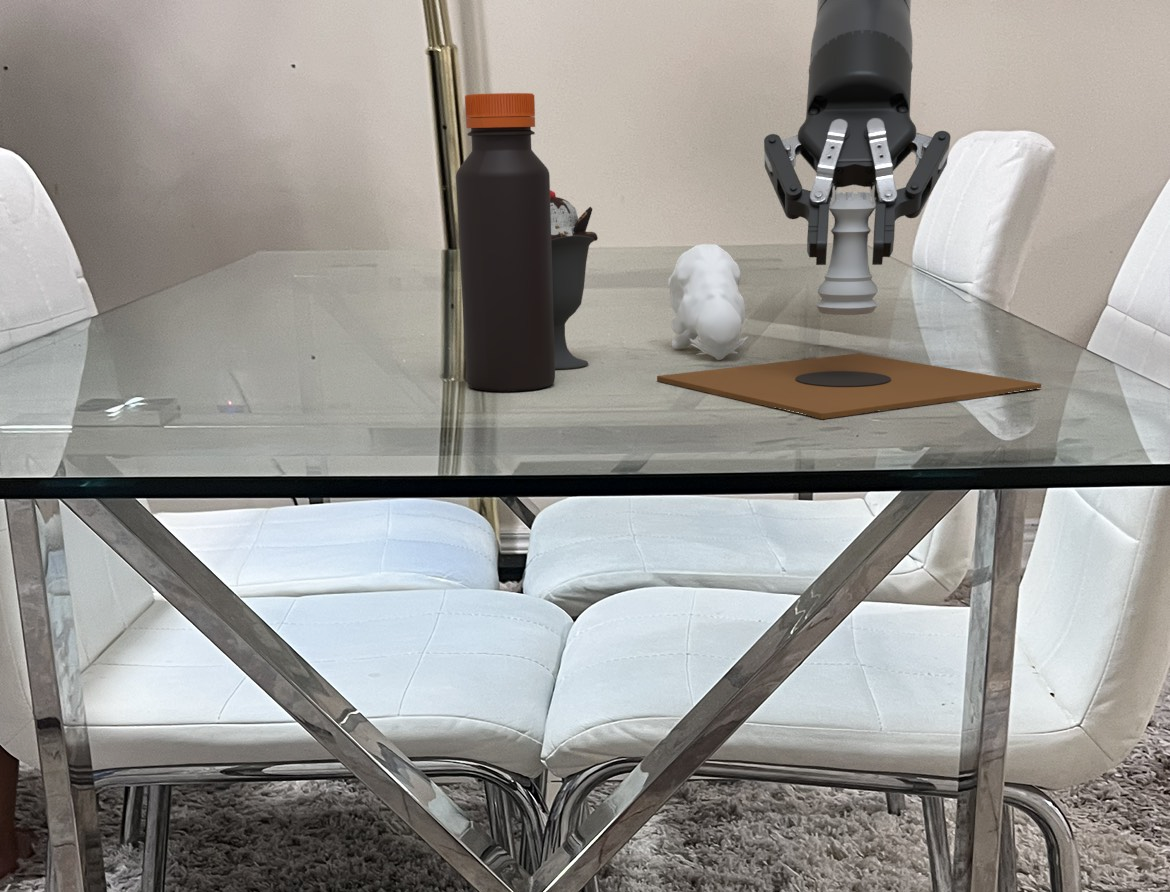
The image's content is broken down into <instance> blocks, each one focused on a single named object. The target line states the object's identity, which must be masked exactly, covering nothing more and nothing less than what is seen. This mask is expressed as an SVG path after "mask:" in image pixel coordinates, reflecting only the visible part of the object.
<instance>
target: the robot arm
mask: <svg viewBox="0 0 1170 892" xmlns="http://www.w3.org/2000/svg"><path fill="white" fill-rule="evenodd" d="M911 7H912V0H817V7H816V18H815V19H816V21H815V25H814V26H815V27H814V31H813V35H812V38H811V39H812V40H811V43H810V44H811V45H810V56H809V67H808V84H807V85H808V86H807V97H806V113H805V120H804V122H803V123H802V124H801V125H800V127H799V129H798V131H797V134H796V135H793V136H791V137H788V138H784V139H782V138H781V136H780V135H778V134H776V133H770V134H768V135H766V136H765V137H764V139H763V149H764V150H763V157H764V159H763V160H764V169H765V171H766V173H767V176H768V178H769V181H770V183H771V185H772V187H773V190H774V192H775V194H776V196H777V199H778V201H779V203H780V206H781V207H782V211H783V212H784V214H785V217H786V218H787V219H790V220H797V219H799V218H803V219H805V220H806V221H807V237H806V239H807V240H806V252H807V255H808V257H809V258H816V259H815V265H816V266H826V265H827V254H828V237H829V217H830V210H829V207H830V206H831V204H832V203H833V202H834V200H835V193H838V189H839V188H845V187H850V186H857V187H858V186H859V187H863V188H868V189H869V192H870V193H871V201H872V202H873V204H874V206H875V207H876V208H875V209H874V221H873V222H874V223H873V241H872V261H871V262H872V263H871V264H872V266H883V261H884V260H883V258H890V257H891V256H892V254H893V252H894V243H895V231H896V226H895V225H896V221H897V220H898V219H899V218H901V217H906V218H907V219H916V218H917V217H919V215H920V214H921V213H922V210H923V209H924V207H925V205H926V203H927V201H928V199H929V198H930V196H931V194H932V192H933V191H934V189H935V186H936V185H937V183H938V181H939V179H940V178H941V176H942V174H943V172H944V170H945V169H946V167H947V165H948V159H949V153H950V147H951V146H950V143H951V137H952V136H951V134H950V133H949V132H948V131H946V130H938V131H937V132H935V133H934V134H933V136H929V135H927V134H923V133H920V132H917V127H916V124H915V123H914V122H913V120H912V118H911V97H912V96H911V93H912V72H913V47H914V46H913V45H914V44H913V32H912V31H913V30H912V25H911V24H912V23H911V11H912V9H911ZM911 153H913V154H914V155H915V159H914V160H915V161H914V162H915V165H916V166H915V169H914V170H913V172H912V174H911V175H910V178H909V179H908V181H907V183H906V185H905V187H902V188H898V189H897V187H896V181H895V178H894V171H895V170H896V169H897V168H898V167H899V166H900V165H901V164H902V163H903V162H904V161H905V159H906V158H908V156H910V154H911ZM799 155H800V156H801V157H802V158H803V159H804V160H805V162H807V164H808V165H809V166H810V168H812V169H813V170H814V172H815V173H816V174H815V178H814V182H813V185H812V187H811V190H808V189H806V188H805V189H804V188H803V185H802V183H801V181H800V179H799V176H798V175H797V172H796V170H795V167H796V160H797V157H798V156H799Z"/></svg>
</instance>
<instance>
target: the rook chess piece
mask: <svg viewBox="0 0 1170 892" xmlns="http://www.w3.org/2000/svg"><path fill="white" fill-rule="evenodd" d="M875 208H876V207H875V205H874V203H873V202H872V198H871V193H870V191H869V192H865V191H859V192H857V193H853V191H851V192H850V191H848V192H845V193H844V192H837V193H835V199H834V202H833V203H832V204H831V206H830V207H829V212H831V214H832V216H833V219H834V225H833V227H832V229H831V230H830V232H831V233H832V236H833V239H832V250H831V254H830V260H829V265H828V269H827V272H826V273H825V275H823V276H824V280H823V282H822V283H820V285H819V286H818V288H817V295H819V297H820V298H821V299H820V300H819V302H817V303H815V306H816V308H817V310H818V311H819V313H821V314H826V315H835V316H857V315H868V314H872V313H873V312H874V311H875V310H876V308H877V307H878V306H879V303H877V302H876V300H874V299H873V298H874V297H875V296H876V295H877V294H878V292H879V291H878V286H877V285H876V283H875V282H874V281H873V279H872V278H873V274H872V273H871V270H870V265H869V251H868V240H869V234H870V233H871V231H872V229H871V228H870V226H869V219H870V217H871V215H872V214H873V212H875Z"/></svg>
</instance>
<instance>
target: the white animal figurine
mask: <svg viewBox="0 0 1170 892" xmlns="http://www.w3.org/2000/svg"><path fill="white" fill-rule="evenodd" d="M741 279H742V272H741V269H740V267H739V264H738V263H737V262H736V261H735V260H734V259H733V257H732V256H731V255H730V254H729V252H727V250H725V249H723V248H722V247H721V246H720V245H718V244H715V243H713V244H709V243H703V244H696V245H694V246H693V247H691V248H690V249H688V250H686V251H685V252H682V254H681V255H679V257H678V258H677V261H676V263H675V267H674V269H673V271H672V274H671V275H670V276H669V277H668V280H667V281H668V282H667V287H668V289H669V300H670V305H671V308H672V310H673V312H674V313H675V315H674V316H672V318H671V330H672V331H673V332H674V333H675V335H674V337H673V338H672V341H671V347H672V348H673V349H674V350H683V349H685V348H688V347H689V346H693V347H694V348H696V349H698V350H700V351H697V352H698V353H696V354H695V356H698V355H699V356H701V355H709V356H711V357H712V358H715V359H716V360H717V361H723V359H724V358H725V357H727V356H728V355H729V354H735V355H737V354H739V352H738V351H739V350H738V348H739V347H740V346H742V345H743V344H744V343H745V341H746V339H747V338H748V336H746V337H742V338H741V339H740V337H741V335H742V328H743V325H744V322H745V315H746V305H745V300H744V297H743V296H742V294H741V293H740V291H739V286H740V285H741ZM697 337H698V338H699V340H697Z"/></svg>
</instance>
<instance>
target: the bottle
mask: <svg viewBox="0 0 1170 892" xmlns="http://www.w3.org/2000/svg"><path fill="white" fill-rule="evenodd" d="M535 102H536V101H535V94H534V93H532V92H531V93H530V92H498V93H497V92H496V93H472V94H471V93H470V94H466V95H464V105H465V106H464V108H465V126H466V129H470V132H467V136H469V137H471V151H470V153H469V154H468V155H467V157H466V159H465V160H464V161H463V162H462V164H461V165H460V166H459V168H458V169H457V171H456V174H455V188H456V189H455V190H456V204H457V205H456V207H457V209H456V210H457V224H458V226H457V227H458V244H459V247H458V248H459V263H460V264H459V265H460V281H461V282H460V283H461V284H460V285H461V301H462V316H463V317H462V319H463V341H464V358H465V359H464V361H465V375H466V377H465V378H466V384H467V385H468V386H469V387H470V388H472V389H474V390H478V391H485V392H501V393H502V392H503V393H504V392H505V393H506V392H507V393H509V392H526V391H535V390H540V389H544V388H548V387H550V386H552V385H553V384H554V383H555V379H556V370H555V358H554V321H553V284H552V247H551V211H550V190H551V181H550V179H551V178H550V177H551V176H550V171H549V168H548V167H547V166H546V164H545V163H543V161H542V160H541V159H540V158H539V157H538V155H536V153H535V152H534V151H533V150H532V136H533V135H535V134H536V133H535V131H534V130H532V128H536V107H535V105H536V103H535Z"/></svg>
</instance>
